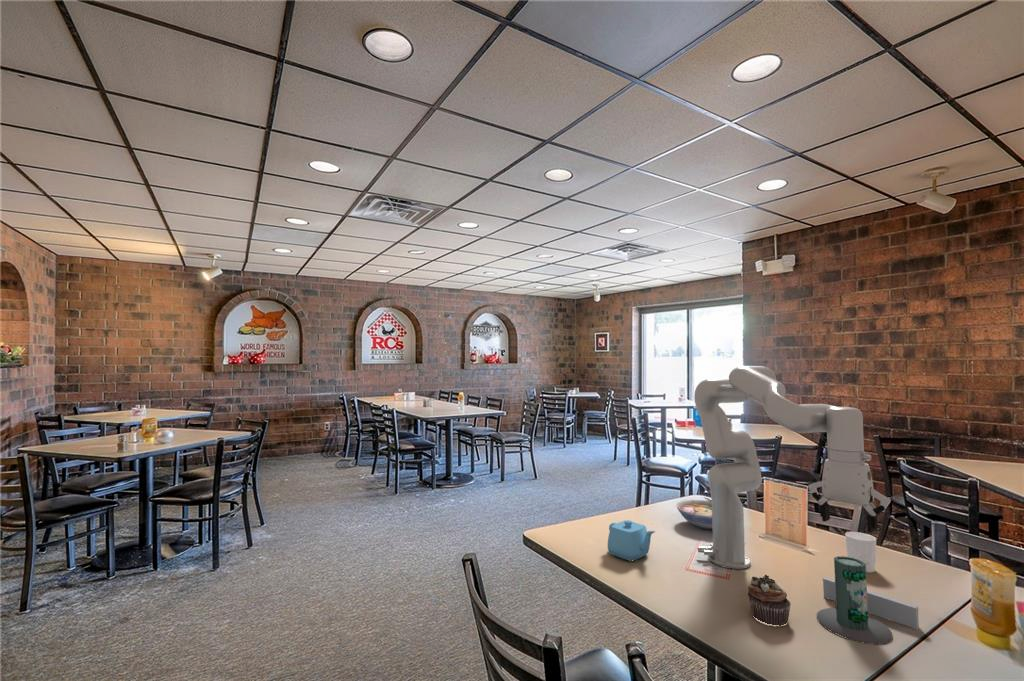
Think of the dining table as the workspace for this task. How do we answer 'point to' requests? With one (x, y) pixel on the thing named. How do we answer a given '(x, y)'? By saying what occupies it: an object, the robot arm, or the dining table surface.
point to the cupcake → (768, 601)
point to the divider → (881, 606)
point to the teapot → (628, 540)
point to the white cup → (862, 548)
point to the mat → (871, 635)
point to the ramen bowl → (697, 512)
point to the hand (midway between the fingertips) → (848, 525)
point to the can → (851, 593)
